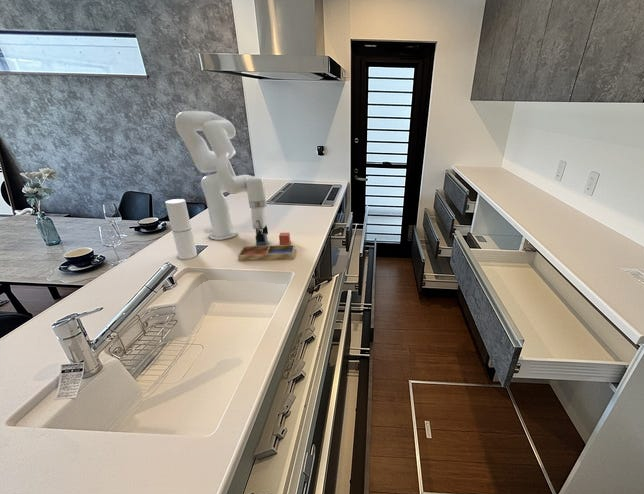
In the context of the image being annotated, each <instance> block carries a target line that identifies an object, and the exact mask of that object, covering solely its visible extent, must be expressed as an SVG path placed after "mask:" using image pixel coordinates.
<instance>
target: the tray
mask: <svg viewBox="0 0 644 494" xmlns="http://www.w3.org/2000/svg"><path fill="white" fill-rule="evenodd" d="M295 252H296V245H295V244H290V245H280V244H277V245H266V246H257V245H246V246H245V245H244V246H243V247H242V248H241V250H240V252H239V253H238V255H237V259H238V261H239V262H243V261H244V262H247V261H275V260H277V261H278V260H294V257H295V254H296V253H295Z"/></svg>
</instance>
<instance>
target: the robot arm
mask: <svg viewBox="0 0 644 494" xmlns="http://www.w3.org/2000/svg"><path fill="white" fill-rule="evenodd" d="M174 121H175V123H174V124H175V128H176V131H177V133H178V135H179V137H180V138H181V139H182V142H184V144H185V147H186V148H187V150H188V153H189V155H190V157H191V159H192V161H193V163H194V166H195V167H196V169H197V171H199V172H200V173H211V174H207V175H205V176H203V177H202V179H201V180H200V187H201V189H202V192H203V195H204V197H205V201H206V206H207V210H208V215H209V221H210V227H204V228H203V232H204V233H205V234H209V238H210V239H211V240H216V241H222V240H223V241H224V240H228V239H232V238H234V237H236V236H237V231H236V230H235V229H233V223H232V218H231V212H230V205H229V201H228V199H227V198H226V196H225V195H224V193H228V194H230V195H237V194H240V193H244V192H245V193H246V192H247V200H248V205H249V208H250V210H251V211H250V213H251V214H250V215H251V224H252V229H253V230H255V236H256V237H257V242H264V234H263V233H267V235H269V230H268V219H267V212H266V208H267V199H266V198H267V197H266V193H265V192H266V191H265V186H264V179H263V177H261V176H257V175H250V174H240V175H236V173H235V171H234V169H233V166H232V164H231V161H230V159H232V158H233V157H234V156H235V155H236V149H235V147H234V145H233V144H232V141H231V140H232V139H234V138H235V137H236V133H237V132H236V128H235V126H234V124H233V123H232V122H231V121H230V120H228V119H227V118H225V117H223V116H220V115H218V114H216V113H214V112H212V111H207V110H184V111H180V112H179V113H177V114H176V116H175V120H174ZM198 132H203V134H204V136H205V138H206V140H207V142H208V143H209V146H210V147H211V149H212V150H210V148H209V146H208V144H207V142H206V140H205V139H204V138H203V137H202V136H201V135H200V134H199V133H198ZM213 172H216V173H213ZM256 237H255V238H256Z"/></svg>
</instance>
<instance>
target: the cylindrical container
mask: <svg viewBox="0 0 644 494" xmlns="http://www.w3.org/2000/svg"><path fill="white" fill-rule="evenodd" d="M164 203H165V208H166V211H167V215H168V219H169V220H168V221H169V223H170V227H171V231H172V235H173V239H174V242H175V243H174V244H175V247H176V252H177V256H178V259H179V260H189V259H192V258H193V259H194V258H195V257H196V256H197V255H198V252H197V247H196V243H195V239H194V234H193V229H192V224H191V220H190V216H189V211H188V207H187V206H188V205H187V202H186V199H184V198H173V199H168V200H165V202H164Z"/></svg>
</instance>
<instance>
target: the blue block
mask: <svg viewBox="0 0 644 494" xmlns="http://www.w3.org/2000/svg"><path fill="white" fill-rule="evenodd" d="M263 234H264V242H257V237H256V235H255V244H256V245H255V246H268V243H269V239H268V234H267V233H263Z"/></svg>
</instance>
